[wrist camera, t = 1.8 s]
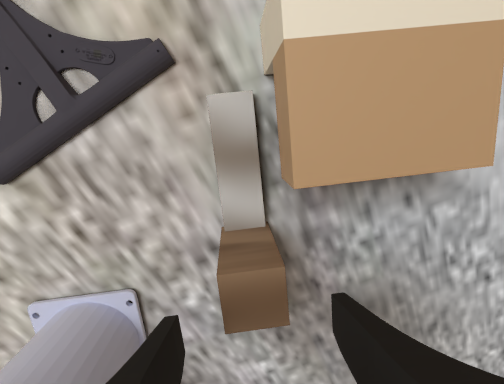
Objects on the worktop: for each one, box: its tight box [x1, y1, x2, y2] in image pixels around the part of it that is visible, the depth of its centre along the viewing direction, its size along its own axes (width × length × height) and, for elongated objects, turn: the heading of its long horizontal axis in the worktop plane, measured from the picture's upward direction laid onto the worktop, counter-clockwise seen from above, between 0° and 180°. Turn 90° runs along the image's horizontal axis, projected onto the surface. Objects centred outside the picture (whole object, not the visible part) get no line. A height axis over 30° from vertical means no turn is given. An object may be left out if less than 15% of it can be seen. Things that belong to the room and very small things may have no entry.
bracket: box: [0, 0, 175, 185], centre depth 16 cm, size 14×15×3 cm
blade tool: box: [206, 90, 290, 334], centre depth 16 cm, size 13×4×7 cm, turn 6°
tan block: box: [260, 0, 504, 189], centre depth 15 cm, size 10×10×7 cm
